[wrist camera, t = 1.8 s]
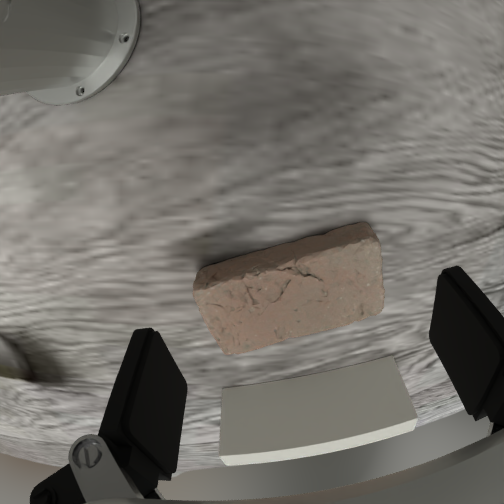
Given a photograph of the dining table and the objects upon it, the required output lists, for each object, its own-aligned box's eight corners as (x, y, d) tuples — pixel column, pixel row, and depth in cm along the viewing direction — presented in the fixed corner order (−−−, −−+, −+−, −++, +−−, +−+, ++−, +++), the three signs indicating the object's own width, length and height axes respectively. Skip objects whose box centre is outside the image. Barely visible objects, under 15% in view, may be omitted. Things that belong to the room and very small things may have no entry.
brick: (366, 215, 28) (385, 239, 24) (376, 287, 32) (391, 316, 28) (194, 263, 30) (186, 293, 26) (224, 327, 34) (222, 359, 30)
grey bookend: (222, 388, 39) (218, 456, 30) (392, 355, 37) (418, 417, 28) (237, 417, 42) (236, 477, 33) (387, 388, 40) (407, 445, 31)
